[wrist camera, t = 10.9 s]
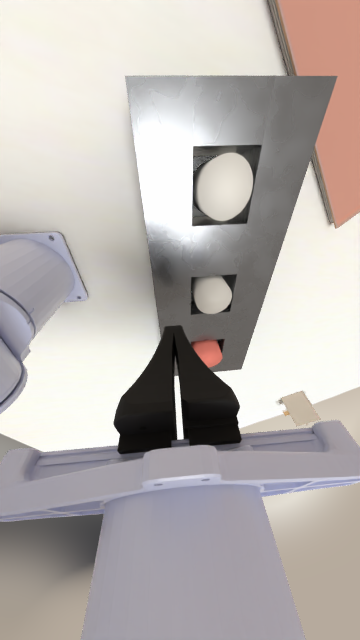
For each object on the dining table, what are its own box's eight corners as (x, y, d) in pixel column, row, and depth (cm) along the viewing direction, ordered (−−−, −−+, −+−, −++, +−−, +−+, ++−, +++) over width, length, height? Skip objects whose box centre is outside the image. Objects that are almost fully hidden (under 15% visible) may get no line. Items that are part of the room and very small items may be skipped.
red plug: (189, 343, 28) (194, 368, 24) (189, 325, 25) (194, 351, 21) (212, 341, 28) (220, 366, 24) (214, 323, 26) (224, 348, 22)
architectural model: (302, 393, 47) (322, 422, 42) (277, 402, 49) (293, 431, 43) (301, 388, 45) (321, 418, 40) (275, 397, 47) (291, 427, 42)
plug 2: (189, 292, 23) (195, 315, 19) (189, 264, 20) (196, 283, 16) (217, 290, 23) (228, 312, 19) (220, 262, 20) (234, 281, 17)
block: (165, 352, 30) (166, 376, 27) (135, 108, 13) (125, 76, 9) (231, 346, 31) (241, 369, 27) (286, 106, 14) (337, 76, 10)
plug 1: (189, 213, 17) (198, 221, 13) (189, 161, 15) (200, 153, 11) (226, 211, 17) (246, 219, 13) (233, 160, 15) (259, 151, 11)
